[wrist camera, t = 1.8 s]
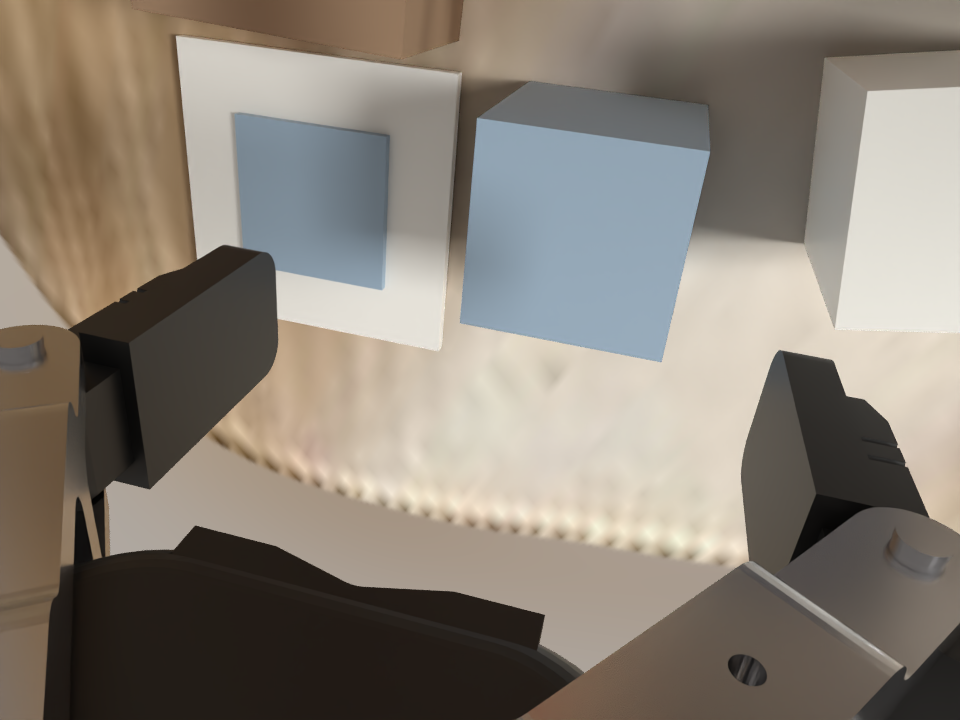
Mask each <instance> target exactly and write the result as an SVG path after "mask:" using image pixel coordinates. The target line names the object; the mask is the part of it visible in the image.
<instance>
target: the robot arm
mask: <svg viewBox="0 0 960 720" xmlns="http://www.w3.org/2000/svg"><path fill="white" fill-rule="evenodd" d="M277 347H278V322H277V293H276V269H275V263H274V260H273V258H272V256H271V255H270V254H269V253H267V252H262V251H256V250H251V249H246V248H240V247H235V246H230V245H222V246H219V247H218V248H216V249H214V250H213V251H211V252H210V253H208V254H206V255H205V256H203V257H201V258H200V259H198V260H196V261H195V262H193V263H191V264H190V265H188V266H186V267H185V268H183V269H180V270H177V271H173V272H170V273H166V274H163V275H160V276H158V277H156V278H154V279H153V280H151V281H149V282H148V283H146V284H144V285H142V286H141V287H139V288H137V292H136V291H132V292H131V293H129V294H127V295H126V296H124V297H122V298H121V299H120V301H119V302H114V303H112V304H110V305H109V306H107V307H105V308H104V309H102V310H100V311H99V312H97V313H95V314H94V315H92V316H90V317H89V318H87V319H85V320H84V321H82V322H80V323H78V324H77V325H75V326H73V327H72V328H70V329H68V330H67V329H63V328H60V327H55V326H48V325H23V326H15V327H9V328H4V329H0V720H960V534H958V533H957V532H955V531H954V530H952V529H950V528H949V527H947V526H945V525H943V524H941V523H939V522H937V521H935V520H933V519H931V518H929V516H928V513H927V511H926V509H925V506H924V504H923V502H922V499H921V497H920V495H919V492H918V490H917V488H916V485H915V483H914V481H913V478H912V476H911V474H910V471H909V469H908V467H905V463H906V462H905V460H904V458H903V455H902V453H901V451H900V448H897V445H898V444H897V441H896V439H895V437H894V434H893V432H892V430H891V427H890V425H889V423H888V421H887V420H886V419H885V418H883V417H882V416H881V415H880V414H879V413H878V412H877V411H876V410H875V409H874V408H873V407H872V406H871V405H870V404H868V403H867V402H866V401H865V400H863V399H858V398H853V397H848V396H846V394H845V392H844V389H843V386H842V383H841V380H840V378H839V375H838V372H837V369H836V367H835V364H834V362H833V361H832V360H829V359H824V358H818V357H813V356H808V355H802V354H797V353H792V352H787V351H781V350H779V351H778V352H777V353H776V355H775V357H774V359H773V361H772V363H771V366H770V369H769V372H768V375H767V378H766V381H765V385H764V388H763V391H762V394H761V397H760V400H759V403H758V406H757V409H756V413H755V416H754V419H753V422H752V425H751V428H750V431H749V434H748V437H747V441H746V445H745V449H744V454H743V460H742V468H741V483H742V493H743V503H744V513H745V523H746V533H747V543H748V553H749V562H746V563H744V564H742V565H740V566H739V567H737V568H735V569H734V570H733V571H731V572H730V573H728V574H727V575H725V576H724V577H723V578H721V579H720V580H718V581H717V582H715V583H714V584H712V585H711V586H709V587H708V588H707V589H705V590H704V591H702V592H701V593H699V594H698V595H696V596H695V597H694V598H692V599H691V600H689V601H688V602H686V603H685V604H683V605H682V606H681V607H679V608H678V609H676V610H675V611H673V612H672V613H671V614H669V615H668V616H666V617H665V618H663V619H662V620H660V621H659V622H658V623H656V624H655V625H653V626H652V627H650V628H649V629H647V630H646V631H645V632H643V633H642V634H640V635H639V636H637V637H636V638H634V639H633V640H632V641H630V642H629V643H627V644H626V645H624V646H623V647H621V648H620V649H619V650H617V651H616V652H614V653H613V654H611V655H610V656H608V657H607V658H606V659H604V660H603V661H601V662H600V663H598V664H597V665H596V666H594V667H593V668H591V669H590V670H588V671H587V672H585V673H584V672H583V671H582V670H580V669H579V668H578V667H577V666H575V665H574V664H572V663H571V662H569V661H567V660H566V659H564V658H563V657H561V656H560V655H558V654H557V653H555V652H553V651H551V650H549V649H547V648H546V647H544V646H542V645H540V644H539V643H540V638H541V633H542V628H543V622H544V617H545V615H543V614H539V613H535V612H531V611H527V610H523V609H520V608H516V607H512V606H508V605H504V604H500V603H496V602H492V601H488V600H484V599H480V598H477V597H472V596H469V595H465V594H461V593H457V592H450V591H430V590H412V589H393V588H375V587H360V586H355V585H351V584H349V583H346V582H344V581H342V580H340V579H338V578H337V577H335V576H333V575H330V574H329V573H327V572H325V571H323V570H321V569H319V568H317V567H315V566H313V565H311V564H309V563H308V562H306V561H304V560H302V559H300V558H298V557H296V556H294V555H292V554H290V553H288V552H286V551H284V550H282V549H280V548H278V547H276V546H273V545H269V544H265V543H261V542H257V541H253V540H250V539H245V538H242V537H238V536H234V535H230V534H226V533H222V532H218V531H214V530H210V529H207V528H203V527H199V526H195V527H194V528H193V529H192V530H191V531H190V532H189V533H188V534H187V536H186V537H185V538H184V539H183V540H182V541H181V543H180V544H179V545H178V546H177V547H176V548H175V549H174V550H145V551H136V552H129V553H121V554H117V555H111V556H110V530H109V504H108V499H107V493H106V487H107V486H108V485H109V484H110V483H111V482H112V481H118V482H123V483H126V484H130V485H134V486H138V487H143V488H147V489H151V488H152V487H153V486H154V485H155V484H156V483H157V482H158V481H159V480H160V479H161V478H162V477H163V476H164V475H165V474H166V473H167V472H168V471H169V470H170V469H171V468H172V467H173V466H174V465H175V464H176V463H177V462H178V461H179V460H180V459H181V458H182V457H183V456H184V455H185V454H186V453H187V452H188V451H189V450H190V449H191V448H192V447H194V445H196V444H197V443H198V442H199V441H200V439H202V438H203V437H204V436H205V435H206V434H207V433H208V432H209V431H210V430H211V429H212V428H213V427H214V426H215V425H216V424H217V423H218V422H219V421H220V420H221V419H222V418H223V417H224V416H225V415H226V414H227V413H228V412H229V411H230V410H231V409H232V408H233V407H234V406H235V405H236V404H237V403H238V402H240V401H241V400H242V399H243V398H244V397H245V396H246V395H247V394H248V393H249V392H250V391H251V390H252V389H253V388H254V387H255V386H256V385H257V384H258V383H259V382H260V381H261V380H262V379H263V378H264V377H265V376H266V375H267V374H268V372H269V371H270V369H271V367H272V365H273V363H274V360H275V357H276V353H277Z"/></svg>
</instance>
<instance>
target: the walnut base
mask: <svg viewBox="0 0 960 720" xmlns="http://www.w3.org/2000/svg"><path fill="white" fill-rule="evenodd" d="M131 2H132V9H137V10H142V11H147V12H153V13H158V14H163V15H168V16H174V17H179V18H184V19H190V20H195V21H200V22H205V23H211V24H216V25H221V26H227V27H232V28H237V29H243V30H248V31H253V32H258V33H264V34H269V35H274V36H280V37H285V38H290V39H295V40H301V41H306V42H311V43H317V44H322V45H327V46H333V47H338V48H343V49H348V50H354V51H359V52H364V53H370V54H375V55H380V56H386V57H391V58H396V59H404V58H407V57H410V56H413V55H416V54H419V53H422V52H425V51H428V50H432V49H435V48H438V47H441V46H444V45H447V44H450V43H453V42H456V41H459V35H460V26H461V17H462V8H463V0H131Z"/></svg>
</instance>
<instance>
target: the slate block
mask: <svg viewBox="0 0 960 720" xmlns="http://www.w3.org/2000/svg"><path fill="white" fill-rule="evenodd" d="M709 155H710V133H709V112H708V105H705V104H698V103H690V102H683V101H675V100H668V99H660V98H653V97H645V96H638V95H630V94H623V93H615V92H608V91H600V90H593V89H585V88H578V87H570V86H563V85H555V84H548V83H540V82H533V81H529V82H528V83H526V84H525V85H524V86H522V87H521V88H519V89H518V90H516V91H515V92H514V93H512V94H511V95H509V96H508V97H506V98H505V99H504V100H502V101H501V102H499V103H498V104H496V105H495V106H494V107H492V108H491V109H489V110H488V111H486V112H485V113H484V114H482V115H481V116H479V117H478V118H477V126H476V138H475V150H474V162H473V173H472V185H471V197H470V209H469V221H468V233H467V245H466V257H465V269H464V281H463V292H462V304H461V316H460V323H462V324H467V325H472V326H477V327H483V328H488V329H493V330H498V331H503V332H508V333H513V334H519V335H524V336H529V337H534V338H539V339H544V340H549V341H555V342H560V343H565V344H570V345H575V346H580V347H585V348H591V349H596V350H601V351H606V352H611V353H616V354H621V355H627V356H632V357H637V358H642V359H647V360H652V361H657V362H662V358H663V353H664V349H665V345H666V340H667V336H668V332H669V327H670V323H671V319H672V315H673V310H674V306H675V302H676V297H677V293H678V289H679V284H680V280H681V276H682V272H683V267H684V263H685V259H686V254H687V250H688V246H689V241H690V237H691V233H692V228H693V224H694V220H695V216H696V211H697V207H698V203H699V198H700V194H701V190H702V185H703V181H704V177H705V172H706V168H707V164H708V160H709Z"/></svg>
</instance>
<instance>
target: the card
mask: <svg viewBox="0 0 960 720" xmlns="http://www.w3.org/2000/svg"><path fill="white" fill-rule="evenodd" d="M176 42H177V52H178V63H179V73H180V84H181V94H182V105H183V115H184V126H185V136H186V147H187V157H188V168H189V179H190V189H191V200H192V210H193V221H194V231H195V242H196V252H197V260H198V259H200V258H201V257H203V256H205V255H206V254H208V253H210V252H211V251H213V250H214V249H216V248H218V247H219V246H222V245H230V246H235V247H240V248H246V249H251V250H256V251H262V252H267V253H269V254H270V255H271V256H272V258H273V260H274V263H275V269H276V293H277V319H282V320H287V321H291V322H296V323H301V324H306V325H311V326H316V327H321V328H326V329H331V330H336V331H341V332H346V333H351V334H355V335H360V336H365V337H370V338H375V339H380V340H385V341H390V342H395V343H400V344H405V345H410V346H415V347H419V348H424V349H429V350H434V351H439V350H440V348H441V347H442V338H443V325H444V311H445V297H446V284H447V270H448V257H449V243H450V229H451V216H452V202H453V189H454V175H455V161H456V148H457V134H458V121H459V107H460V93H461V80H462V72H457V71H449V70H442V69H435V68H427V67H420V66H412V65H405V64H397V63H390V62H382V61H375V60H368V59H360V58H353V57H345V56H338V55H330V54H323V53H315V52H308V51H301V50H293V49H286V48H278V47H271V46H263V45H256V44H248V43H241V42H234V41H226V40H219V39H211V38H204V37H196V36H189V35H178V36H176Z"/></svg>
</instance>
